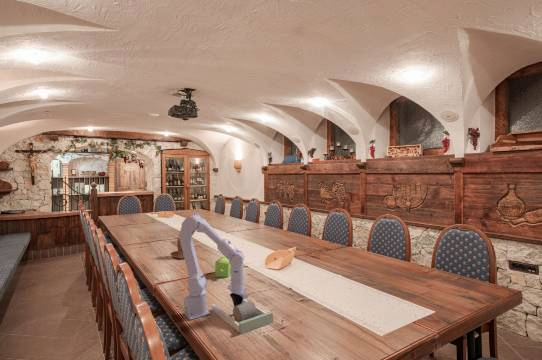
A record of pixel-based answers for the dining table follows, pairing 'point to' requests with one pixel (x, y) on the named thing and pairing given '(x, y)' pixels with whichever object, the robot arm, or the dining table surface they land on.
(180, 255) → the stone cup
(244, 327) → the grey u-shaped frame
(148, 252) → the dining table surface
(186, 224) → the robot arm
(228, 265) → the green rounded oblong piece
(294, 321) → the dining table surface
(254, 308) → the ceramic mug
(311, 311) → the dining table surface
